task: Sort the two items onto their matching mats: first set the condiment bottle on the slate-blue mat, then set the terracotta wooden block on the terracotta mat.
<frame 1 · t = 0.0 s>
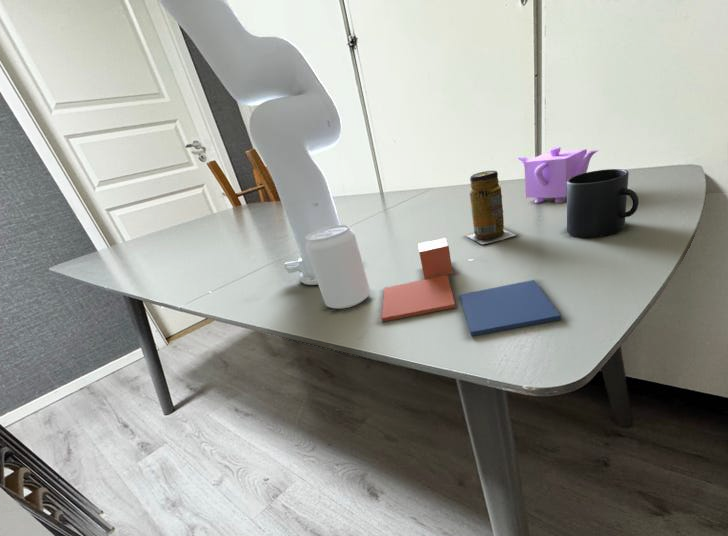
condiment: (490, 237, 83), on the table
terracotta mat: (417, 298, 64), on the table
slate mat: (505, 307, 55), on the table
beverage can: (349, 301, 70), on the table
teapot: (555, 198, 97), on the table
mug: (601, 230, 72), on the table
terracotta block: (437, 271, 72), on the table
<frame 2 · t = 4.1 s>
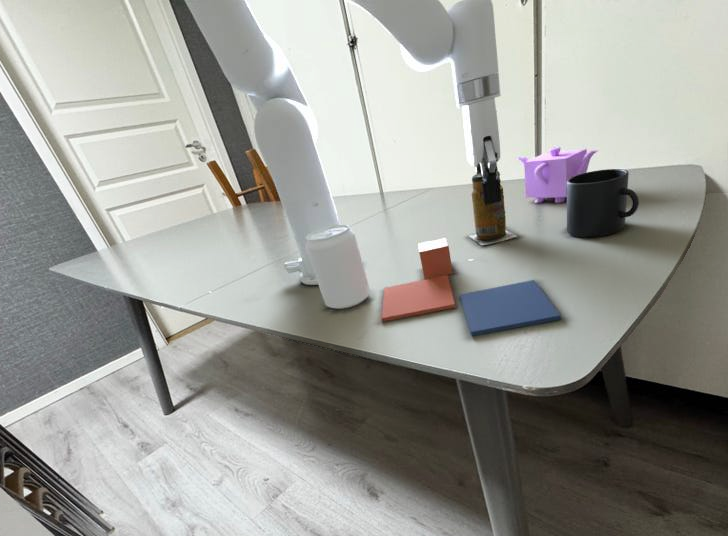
hand: (489, 198, 79), 7 cm above the table, tool pointing down, fingers closed on condiment, 6 cm apart
condiment: (492, 238, 82), on the table, touching gripper
everything else where it was.
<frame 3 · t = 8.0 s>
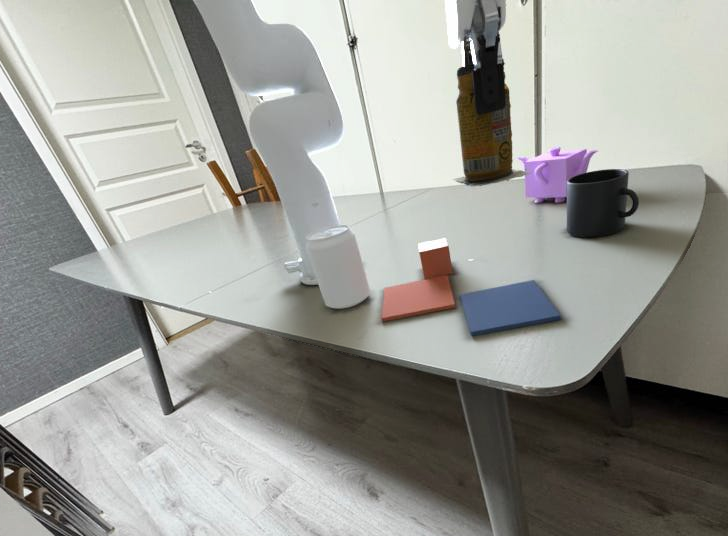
hand: (485, 109, 47), 23 cm above the table, tool pointing down, fingers closed on condiment, 6 cm apart
condiment: (490, 180, 50), point 16 cm above the table, touching gripper
everything else where it was.
when the fingers open (8 cm above the table, at t = 12.3 s): condiment stays where it is, resting on slate mat.
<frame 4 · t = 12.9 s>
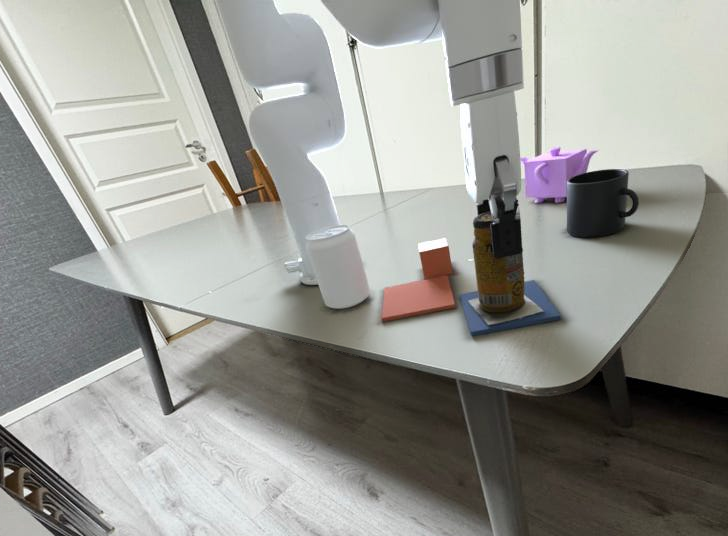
hand: (499, 243, 50), 9 cm above the table, tool pointing down, fingers open, 9 cm apart
condiment: (503, 308, 54), resting on slate mat
everything else where it was.
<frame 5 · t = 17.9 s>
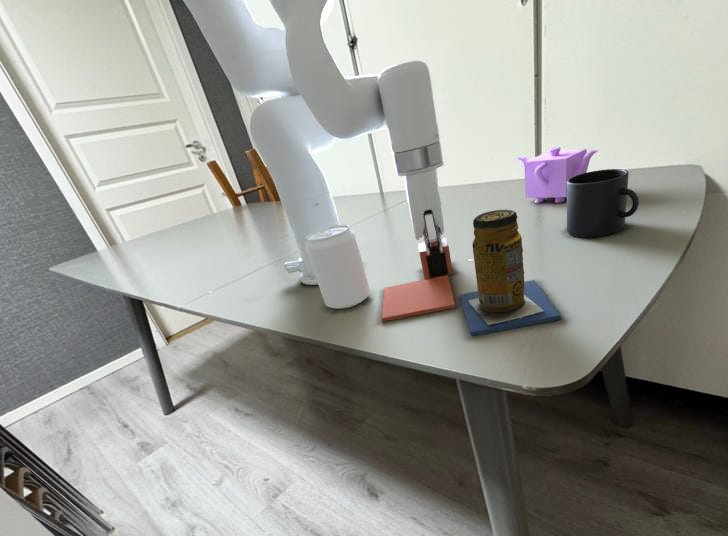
hand: (437, 269, 72), 0 cm above the table, tool pointing down, fingers closed on terracotta block, 5 cm apart
terracotta block: (437, 271, 72), on the table, touching gripper
everything else where it was.
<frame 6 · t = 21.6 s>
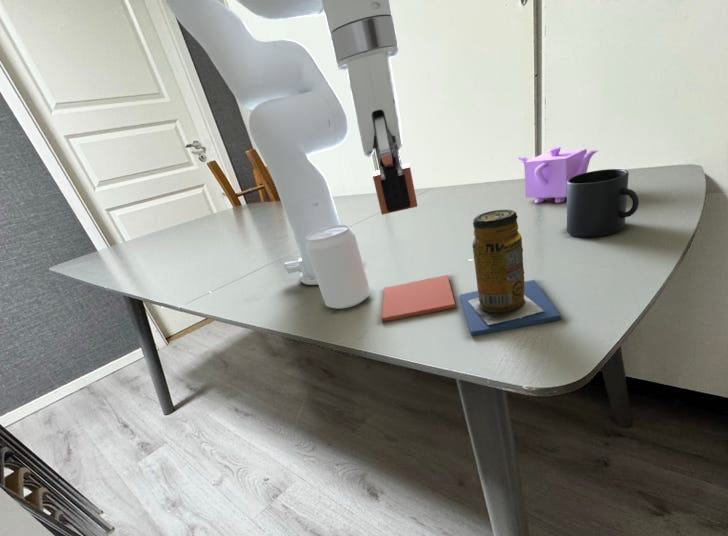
hand: (399, 203, 57), 15 cm above the table, tool pointing down, fingers closed on terracotta block, 5 cm apart
terracotta block: (399, 207, 57), point 14 cm above the table, touching gripper
everything else where it was.
when the fingers open (1 cm above the table, at t = 25.0 s): terracotta block stays where it is, resting on terracotta mat.
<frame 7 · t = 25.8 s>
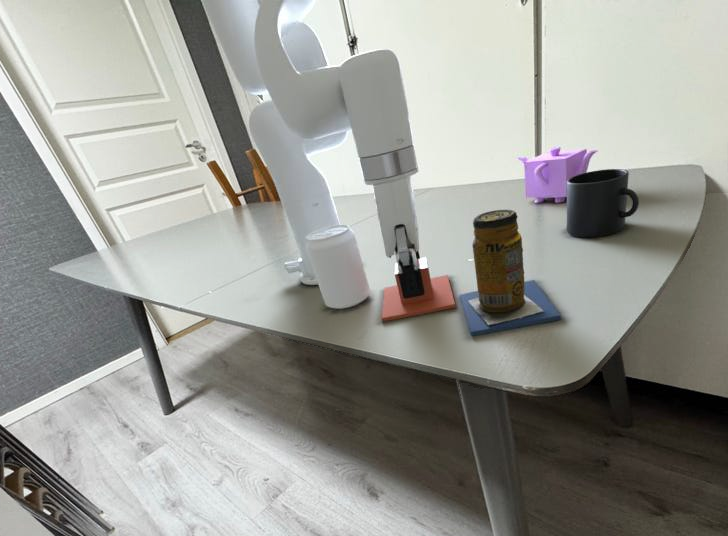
hand: (413, 283, 63), 3 cm above the table, tool pointing down, fingers open, 9 cm apart
terracotta block: (417, 295, 64), point 1 cm above the table, touching terracotta mat
everything else where it was.
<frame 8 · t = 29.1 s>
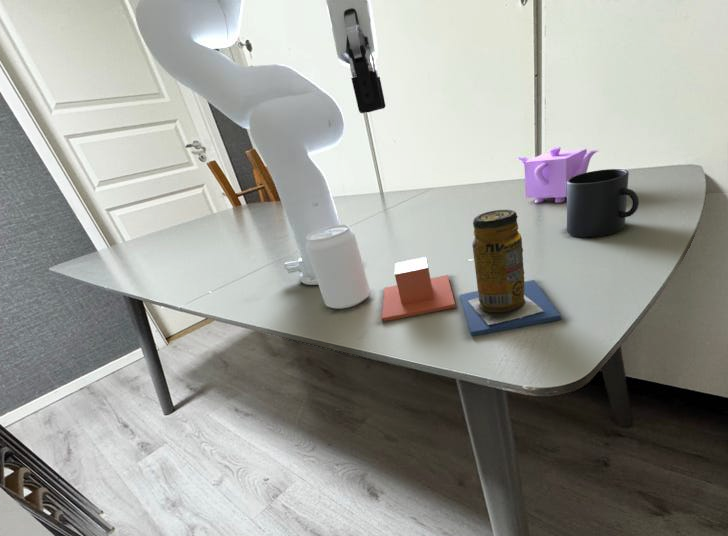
hand: (373, 110, 57), 26 cm above the table, tool pointing down, fingers open, 9 cm apart
nothing on the table moved.
at the end: condiment inside the target area on the slate mat (0.9 cm from its centre), point 0.4 cm above the slate mat's base; condiment tilted 0°; terracotta block inside the target area on the terracotta mat (0.1 cm from its centre), point 0.6 cm above the terracotta mat's base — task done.
